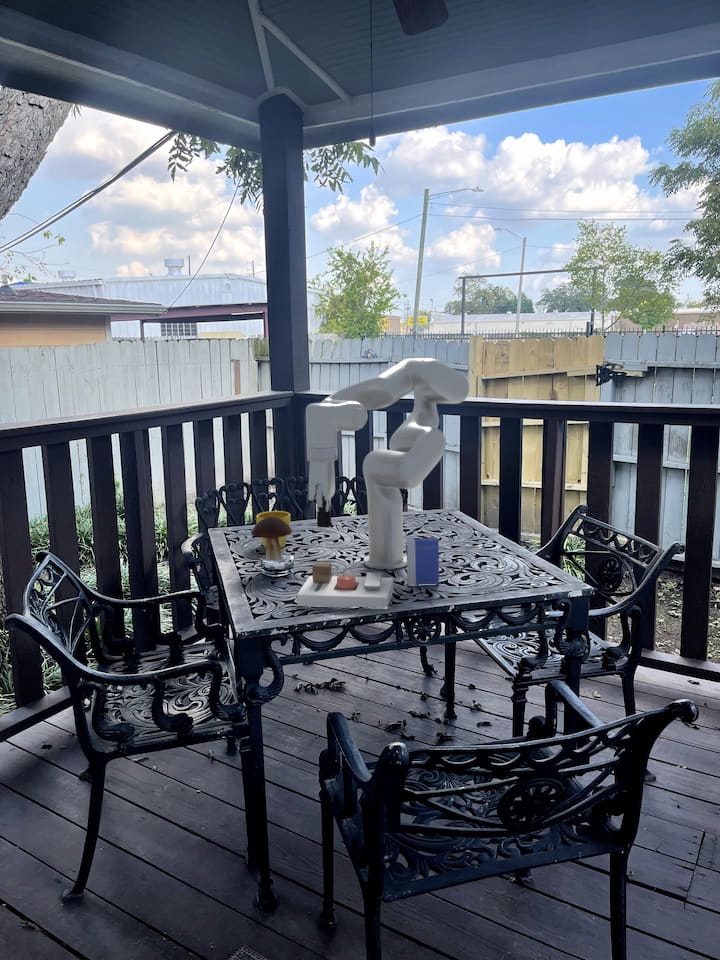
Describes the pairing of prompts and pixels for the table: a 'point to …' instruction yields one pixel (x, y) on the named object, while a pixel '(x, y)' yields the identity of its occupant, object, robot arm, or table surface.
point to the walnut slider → (322, 572)
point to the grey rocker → (373, 580)
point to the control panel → (344, 594)
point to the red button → (346, 582)
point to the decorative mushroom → (272, 535)
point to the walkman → (422, 561)
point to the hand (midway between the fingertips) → (324, 526)
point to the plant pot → (279, 514)
